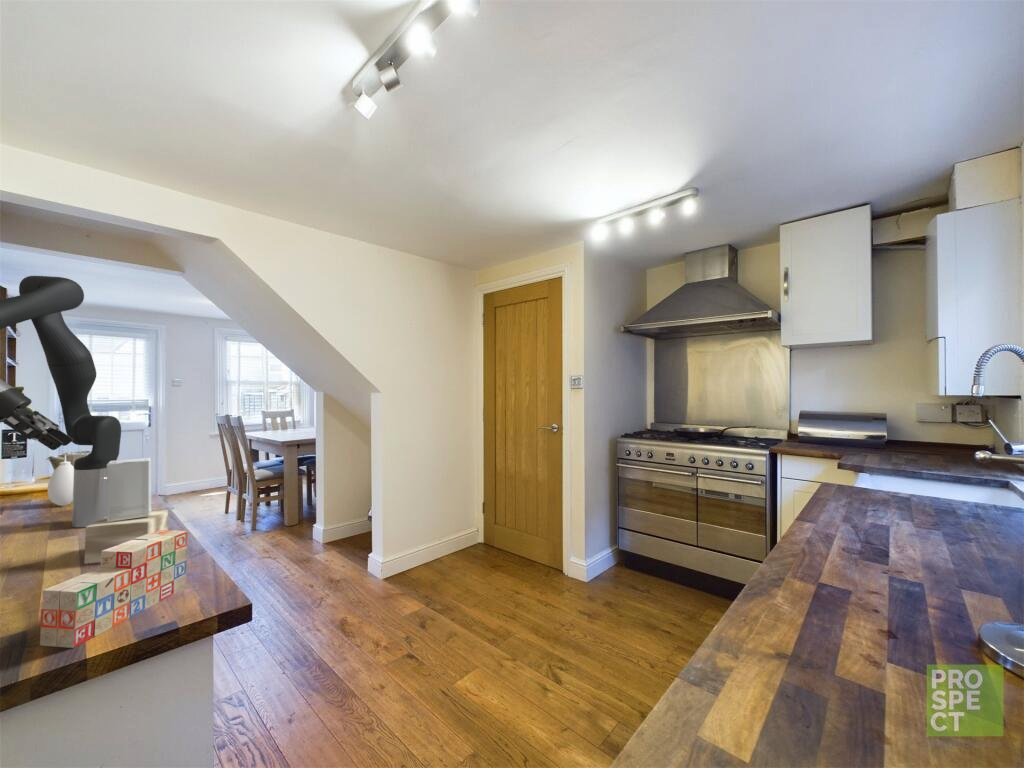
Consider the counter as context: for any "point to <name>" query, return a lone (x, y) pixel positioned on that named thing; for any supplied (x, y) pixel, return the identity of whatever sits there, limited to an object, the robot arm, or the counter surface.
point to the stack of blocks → (114, 588)
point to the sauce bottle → (62, 484)
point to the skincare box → (128, 489)
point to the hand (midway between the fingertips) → (64, 445)
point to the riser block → (120, 532)
